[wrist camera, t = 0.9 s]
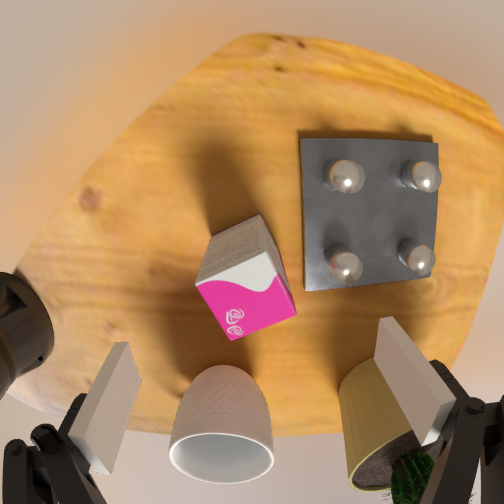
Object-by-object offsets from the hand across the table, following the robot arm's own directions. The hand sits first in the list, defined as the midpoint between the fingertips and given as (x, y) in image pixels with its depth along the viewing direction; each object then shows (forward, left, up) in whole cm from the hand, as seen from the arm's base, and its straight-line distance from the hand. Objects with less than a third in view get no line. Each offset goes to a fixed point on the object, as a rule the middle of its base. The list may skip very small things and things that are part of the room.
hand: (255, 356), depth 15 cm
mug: (-5, -19, -19) cm, 27 cm away
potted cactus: (+17, -22, -19) cm, 34 cm away
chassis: (+14, +3, -18) cm, 23 cm away
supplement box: (0, 0, -19) cm, 19 cm away
